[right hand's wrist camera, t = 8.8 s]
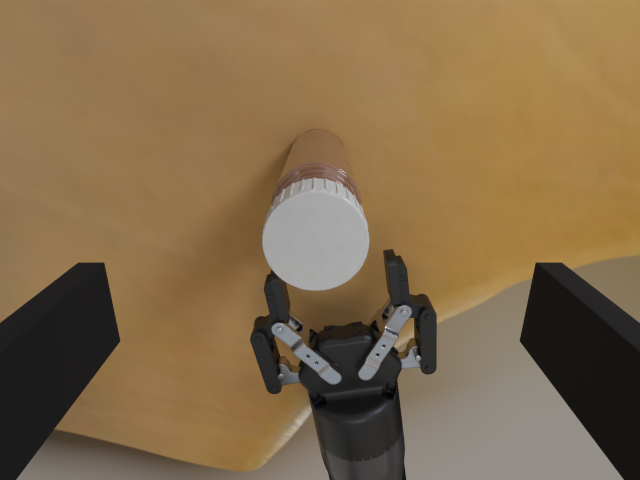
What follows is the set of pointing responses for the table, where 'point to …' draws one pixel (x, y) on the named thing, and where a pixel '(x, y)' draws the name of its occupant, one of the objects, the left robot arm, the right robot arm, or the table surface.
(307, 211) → the cap
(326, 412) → the left robot arm
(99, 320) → the right robot arm
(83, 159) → the table surface
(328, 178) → the bottle
